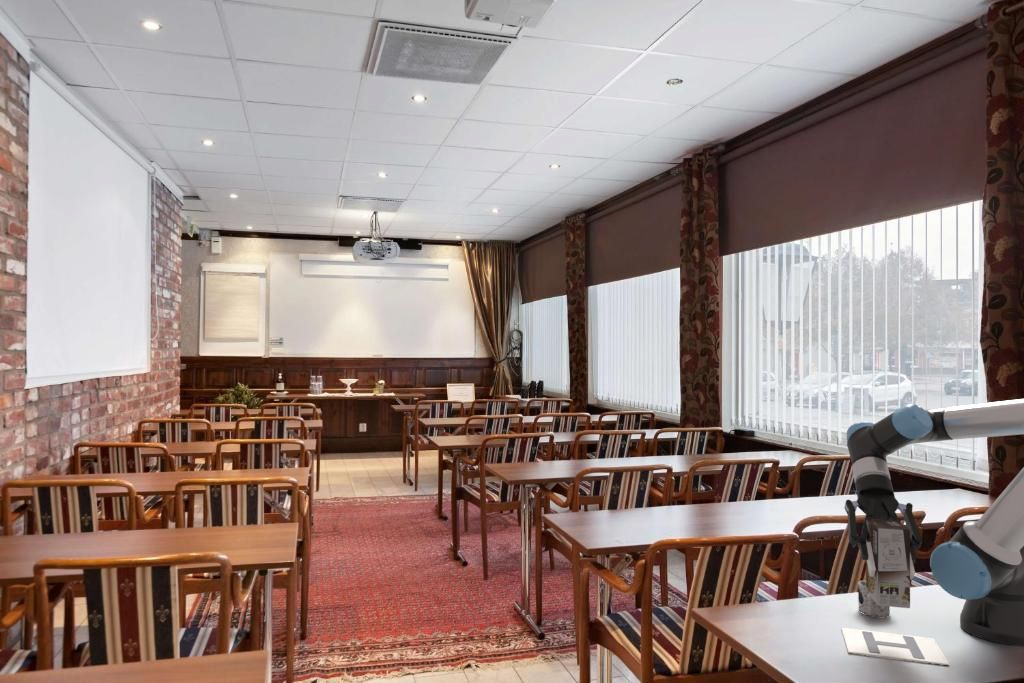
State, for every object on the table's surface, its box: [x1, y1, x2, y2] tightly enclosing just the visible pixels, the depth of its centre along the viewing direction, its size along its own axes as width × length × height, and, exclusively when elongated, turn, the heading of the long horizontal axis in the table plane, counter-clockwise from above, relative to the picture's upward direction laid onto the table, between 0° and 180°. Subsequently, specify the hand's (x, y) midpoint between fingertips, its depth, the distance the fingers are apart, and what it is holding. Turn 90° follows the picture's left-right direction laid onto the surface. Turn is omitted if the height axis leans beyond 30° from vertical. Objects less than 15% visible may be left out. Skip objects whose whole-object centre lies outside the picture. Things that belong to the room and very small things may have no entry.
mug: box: [857, 579, 891, 618], centre depth 170 cm, size 10×7×7 cm
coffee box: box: [865, 519, 911, 609], centre depth 151 cm, size 9×6×16 cm
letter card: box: [840, 627, 950, 666], centre depth 150 cm, size 18×14×1 cm
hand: (892, 574), depth 148 cm, fingers closed on coffee box, 7 cm apart
